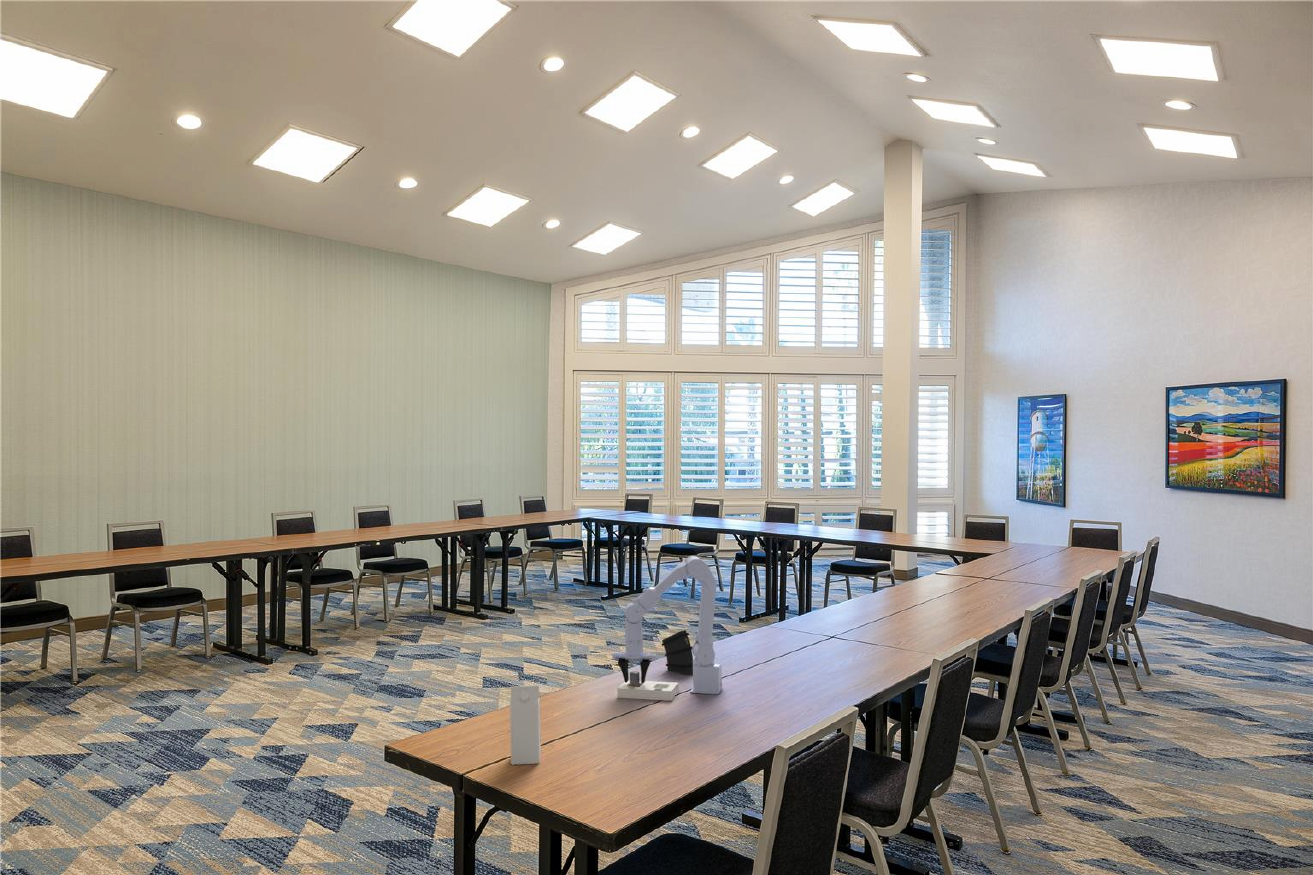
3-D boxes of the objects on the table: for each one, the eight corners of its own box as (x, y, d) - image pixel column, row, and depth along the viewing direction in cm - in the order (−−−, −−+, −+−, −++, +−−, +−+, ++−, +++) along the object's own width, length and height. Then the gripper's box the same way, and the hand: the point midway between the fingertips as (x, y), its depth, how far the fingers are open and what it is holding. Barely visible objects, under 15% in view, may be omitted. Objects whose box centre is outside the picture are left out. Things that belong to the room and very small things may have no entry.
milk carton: (513, 755, 220) (512, 683, 221) (540, 753, 221) (539, 681, 221) (511, 765, 213) (509, 690, 214) (539, 763, 214) (537, 689, 214)
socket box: (678, 691, 276) (678, 681, 276) (671, 700, 266) (671, 690, 266) (626, 688, 280) (626, 678, 280) (617, 697, 271) (617, 687, 271)
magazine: (694, 672, 293) (680, 631, 298) (670, 682, 302) (657, 642, 307) (701, 670, 296) (687, 629, 301) (677, 680, 304) (664, 640, 309)
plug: (640, 692, 275) (640, 671, 276) (638, 695, 272) (638, 674, 272) (631, 692, 276) (631, 671, 276) (629, 695, 273) (628, 673, 273)
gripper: (609, 642, 273) (610, 684, 272) (652, 643, 269) (653, 686, 269) (615, 637, 279) (616, 678, 279) (657, 639, 276) (658, 680, 275)
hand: (634, 681), depth 274 cm, fingers open, 5 cm apart
